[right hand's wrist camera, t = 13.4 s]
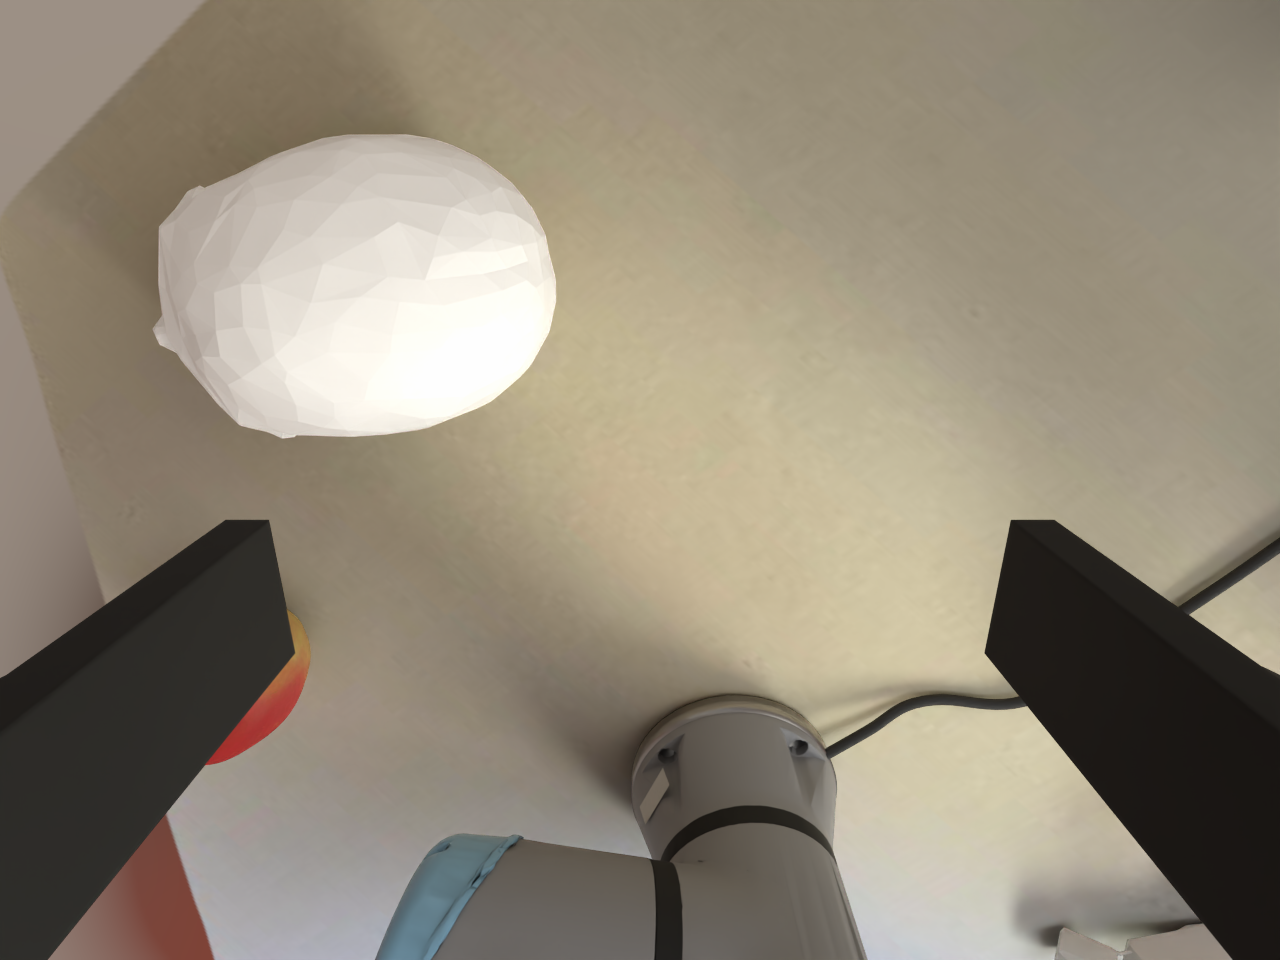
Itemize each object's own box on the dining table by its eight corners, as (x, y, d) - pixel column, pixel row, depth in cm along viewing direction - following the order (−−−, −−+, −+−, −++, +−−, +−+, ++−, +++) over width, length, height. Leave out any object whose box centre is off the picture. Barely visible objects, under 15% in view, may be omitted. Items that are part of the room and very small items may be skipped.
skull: (157, 222, 40) (-124, 235, 25) (523, 112, 38) (454, 56, 23) (263, 437, 44) (80, 554, 30) (592, 349, 43) (571, 427, 28)
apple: (340, 688, 51) (271, 793, 41) (207, 680, 50) (108, 784, 41) (329, 570, 47) (252, 655, 38) (187, 561, 47) (75, 644, 38)
